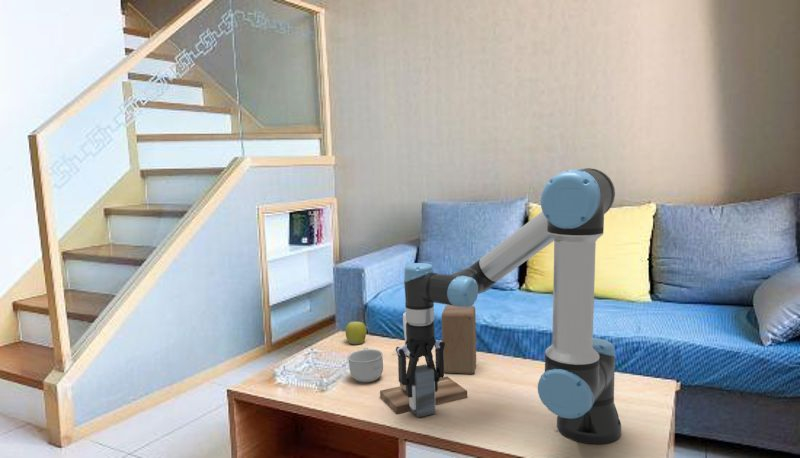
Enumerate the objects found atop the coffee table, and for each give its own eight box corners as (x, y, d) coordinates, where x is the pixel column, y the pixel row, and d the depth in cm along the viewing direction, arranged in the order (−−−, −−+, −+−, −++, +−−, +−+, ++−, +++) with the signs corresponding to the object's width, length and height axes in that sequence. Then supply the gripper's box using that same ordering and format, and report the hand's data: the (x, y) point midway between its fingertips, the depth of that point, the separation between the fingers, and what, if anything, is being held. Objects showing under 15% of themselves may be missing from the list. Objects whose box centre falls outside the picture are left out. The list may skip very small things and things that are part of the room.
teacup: (380, 386, 170) (379, 361, 169) (345, 385, 172) (344, 360, 171) (388, 369, 183) (387, 345, 182) (355, 368, 185) (354, 344, 184)
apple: (358, 345, 204) (351, 318, 205) (344, 347, 210) (338, 321, 210) (373, 340, 210) (367, 313, 211) (360, 342, 215) (354, 316, 216)
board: (467, 397, 160) (467, 390, 160) (396, 414, 151) (396, 406, 151) (447, 382, 171) (447, 375, 171) (380, 397, 162) (379, 390, 162)
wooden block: (474, 375, 176) (473, 313, 173) (442, 373, 178) (441, 312, 175) (476, 363, 186) (475, 304, 183) (446, 362, 188) (445, 304, 185)
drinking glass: (414, 350, 200) (413, 309, 198) (427, 355, 194) (426, 313, 192) (400, 355, 195) (398, 313, 193) (413, 360, 190) (411, 317, 188)
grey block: (435, 413, 150) (433, 370, 148) (418, 417, 148) (416, 373, 147) (411, 391, 164) (409, 352, 163) (395, 395, 162) (393, 355, 161)
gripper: (443, 313, 155) (445, 393, 158) (382, 323, 148) (386, 406, 151) (456, 320, 148) (458, 404, 151) (393, 330, 141) (397, 418, 144)
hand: (422, 405), depth 151 cm, fingers closed on grey block, 5 cm apart
